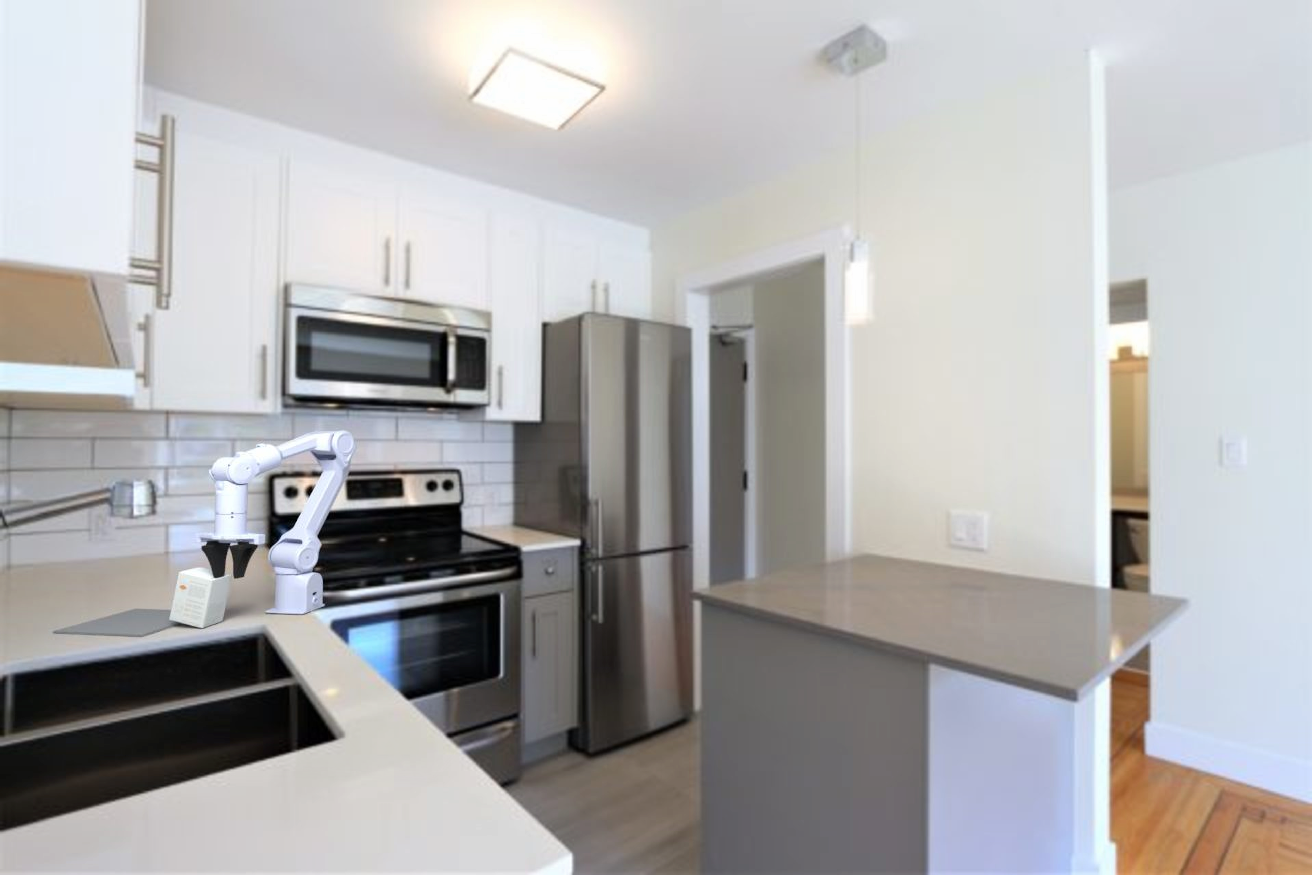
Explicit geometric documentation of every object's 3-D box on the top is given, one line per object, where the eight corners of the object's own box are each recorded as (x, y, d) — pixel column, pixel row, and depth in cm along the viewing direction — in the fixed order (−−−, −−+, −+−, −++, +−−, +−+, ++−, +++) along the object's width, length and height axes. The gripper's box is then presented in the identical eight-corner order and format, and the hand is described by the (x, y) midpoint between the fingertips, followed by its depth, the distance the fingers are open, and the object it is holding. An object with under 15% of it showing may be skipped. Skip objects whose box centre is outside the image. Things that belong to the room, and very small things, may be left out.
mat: (214, 613, 143) (214, 611, 143) (141, 636, 125) (141, 634, 125) (135, 610, 145) (135, 608, 145) (52, 632, 127) (52, 631, 127)
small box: (223, 621, 136) (233, 574, 136) (202, 629, 130) (212, 580, 130) (190, 612, 136) (200, 566, 136) (167, 619, 131) (178, 571, 131)
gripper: (184, 514, 129) (181, 579, 129) (248, 515, 128) (246, 582, 127) (211, 511, 136) (209, 573, 136) (273, 512, 135) (270, 575, 134)
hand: (228, 577), depth 132 cm, fingers open, 4 cm apart
